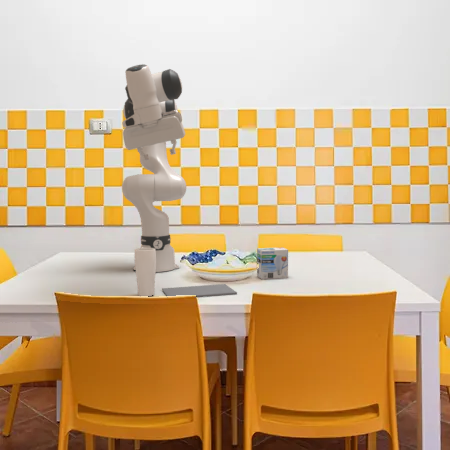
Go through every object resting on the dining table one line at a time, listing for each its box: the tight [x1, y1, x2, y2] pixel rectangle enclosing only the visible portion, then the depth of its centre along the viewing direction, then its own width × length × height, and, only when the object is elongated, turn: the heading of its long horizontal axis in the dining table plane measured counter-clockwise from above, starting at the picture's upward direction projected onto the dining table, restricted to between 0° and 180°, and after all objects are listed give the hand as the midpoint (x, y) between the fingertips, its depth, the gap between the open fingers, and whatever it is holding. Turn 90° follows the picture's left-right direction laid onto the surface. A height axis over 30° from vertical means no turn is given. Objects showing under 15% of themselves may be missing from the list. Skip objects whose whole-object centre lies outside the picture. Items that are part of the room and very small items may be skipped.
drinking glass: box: [134, 247, 157, 297], centre depth 167 cm, size 7×7×15 cm
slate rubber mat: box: [161, 283, 238, 298], centre depth 171 cm, size 14×22×1 cm, turn 106°
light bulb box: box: [256, 246, 289, 280], centre depth 195 cm, size 11×7×11 cm, turn 101°
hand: (159, 157), depth 174 cm, fingers open, 8 cm apart
